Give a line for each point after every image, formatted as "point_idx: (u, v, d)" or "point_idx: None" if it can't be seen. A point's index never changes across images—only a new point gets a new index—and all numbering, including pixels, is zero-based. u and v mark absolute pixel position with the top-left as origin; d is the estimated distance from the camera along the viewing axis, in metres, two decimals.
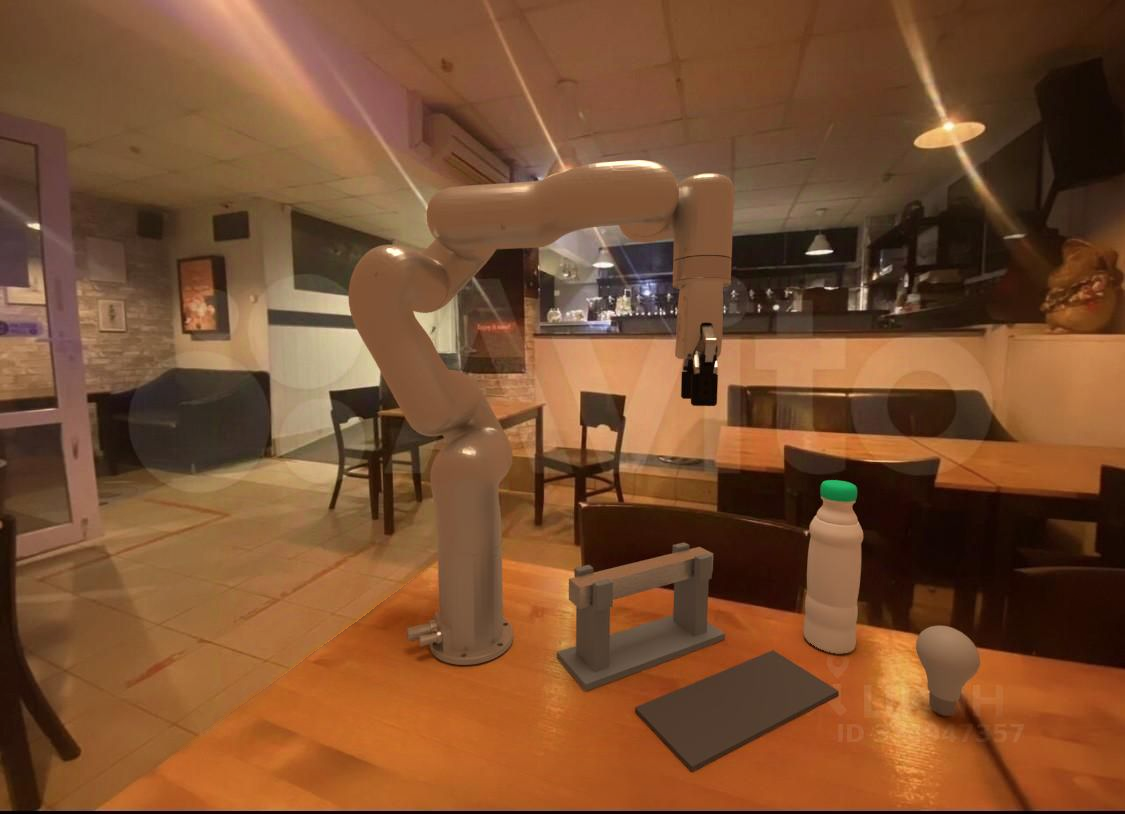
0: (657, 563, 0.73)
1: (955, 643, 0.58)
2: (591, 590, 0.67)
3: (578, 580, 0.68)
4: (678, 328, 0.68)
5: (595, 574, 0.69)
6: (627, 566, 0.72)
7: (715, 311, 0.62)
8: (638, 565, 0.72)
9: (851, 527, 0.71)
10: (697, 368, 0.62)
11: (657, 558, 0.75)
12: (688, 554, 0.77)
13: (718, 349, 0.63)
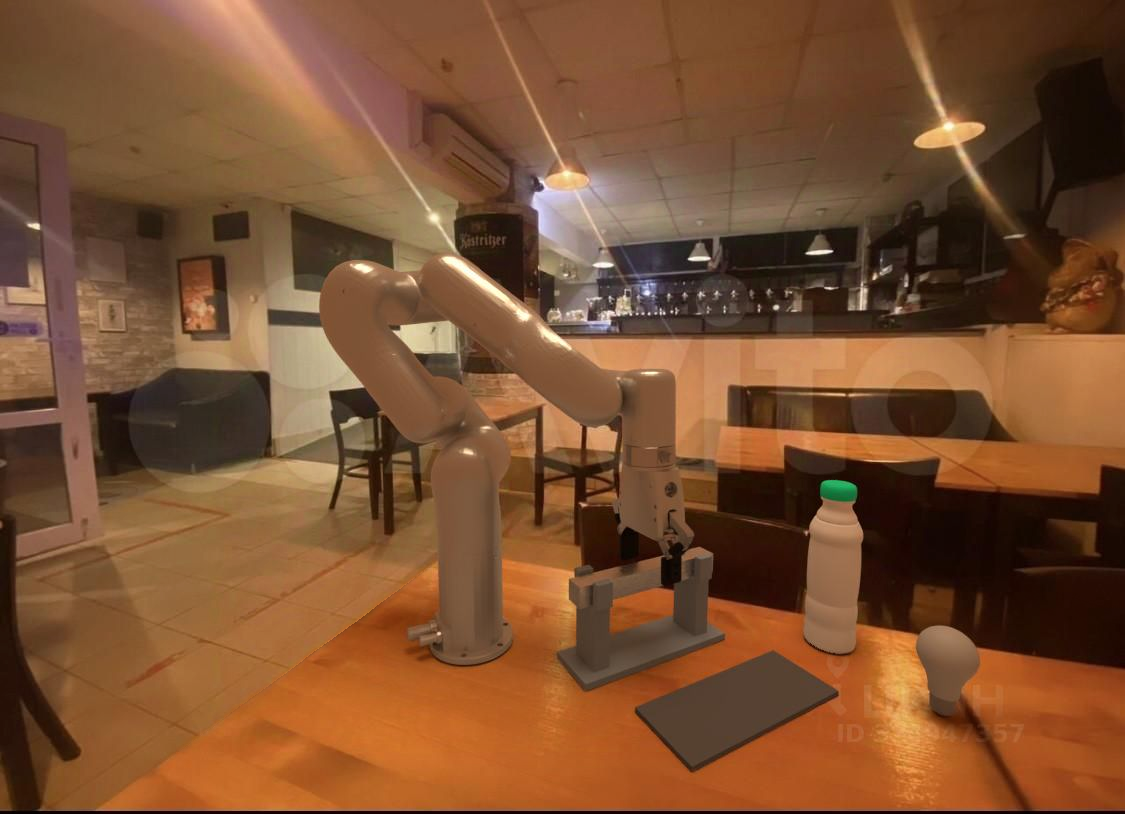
0: (657, 563, 0.73)
1: (954, 643, 0.58)
2: (591, 590, 0.67)
3: (578, 580, 0.68)
4: None
5: (595, 574, 0.69)
6: (627, 566, 0.72)
7: None
8: (638, 565, 0.72)
9: (851, 527, 0.71)
10: None
11: (657, 558, 0.75)
12: (688, 554, 0.77)
13: None
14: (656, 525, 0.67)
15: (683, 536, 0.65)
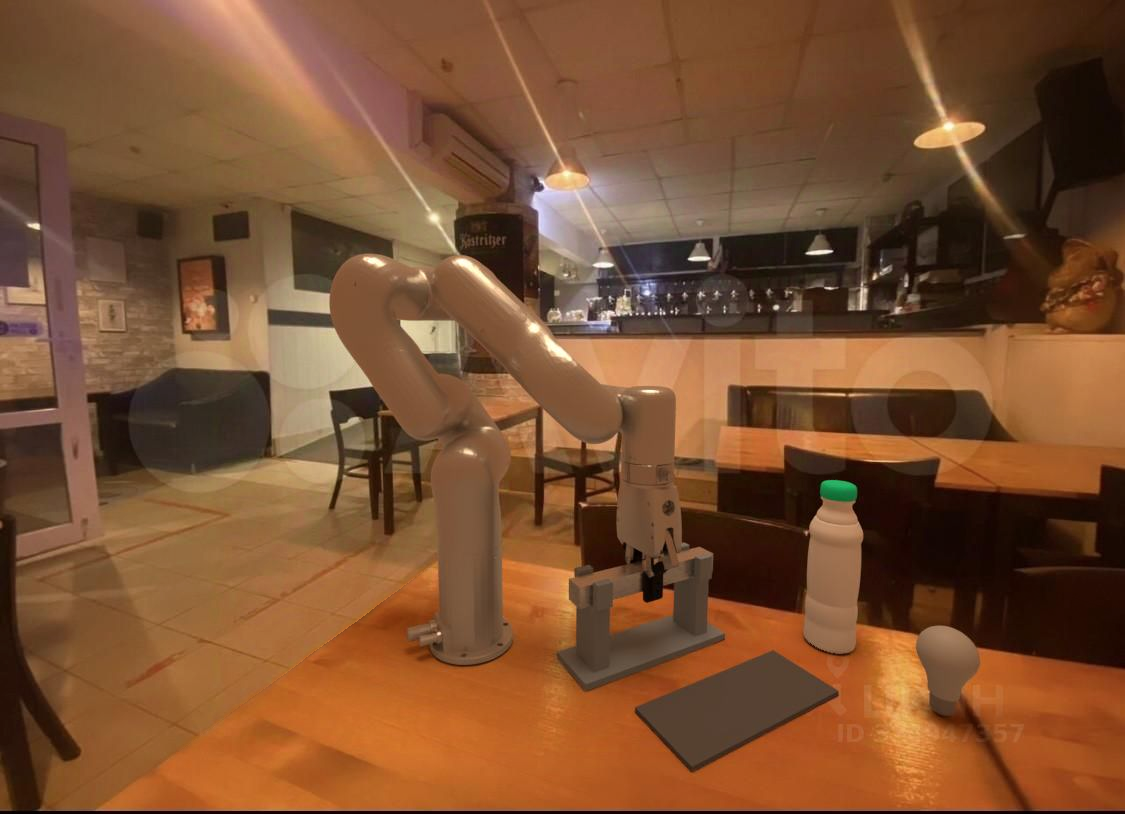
0: None
1: (955, 643, 0.58)
2: (591, 590, 0.67)
3: (578, 580, 0.68)
4: None
5: (595, 574, 0.69)
6: (627, 566, 0.72)
7: None
8: (638, 565, 0.72)
9: (851, 527, 0.71)
10: None
11: (657, 558, 0.75)
12: (688, 554, 0.77)
13: None
14: (653, 543, 0.67)
15: (668, 564, 0.67)
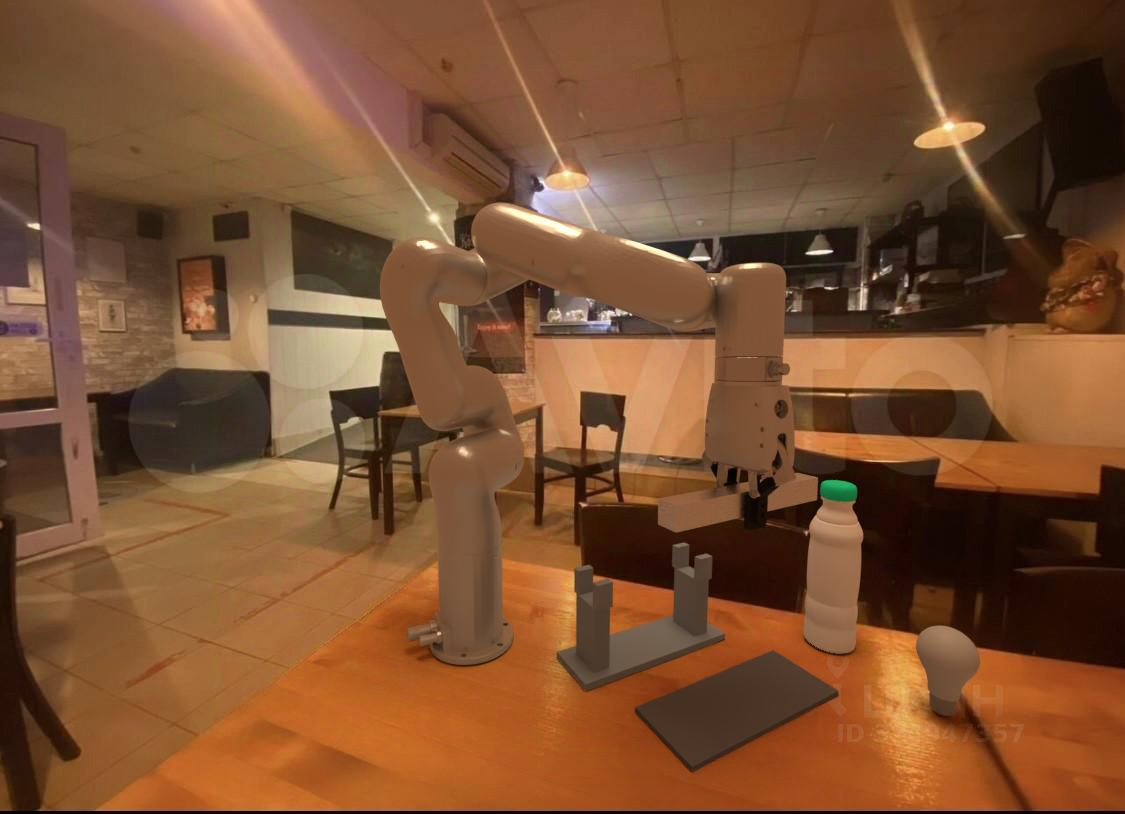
0: None
1: (955, 643, 0.58)
2: (689, 510, 0.54)
3: (671, 499, 0.55)
4: None
5: (688, 494, 0.57)
6: (723, 488, 0.60)
7: None
8: (735, 487, 0.60)
9: (851, 527, 0.71)
10: None
11: None
12: None
13: (705, 449, 0.63)
14: (763, 452, 0.55)
15: (782, 477, 0.54)
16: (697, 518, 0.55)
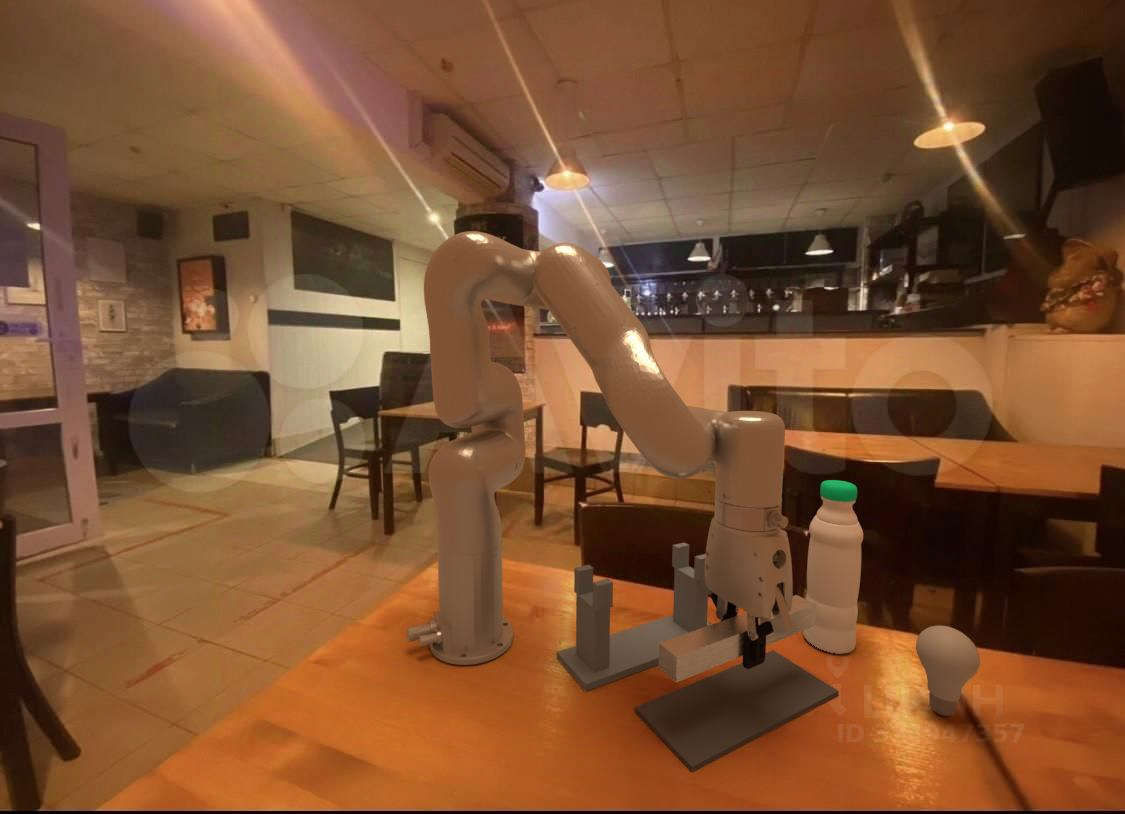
0: None
1: (955, 643, 0.58)
2: (689, 659, 0.55)
3: (671, 645, 0.57)
4: None
5: (688, 636, 0.58)
6: (722, 624, 0.61)
7: None
8: (735, 623, 0.61)
9: (851, 527, 0.71)
10: None
11: None
12: None
13: None
14: (761, 601, 0.56)
15: (780, 627, 0.56)
16: (697, 665, 0.56)
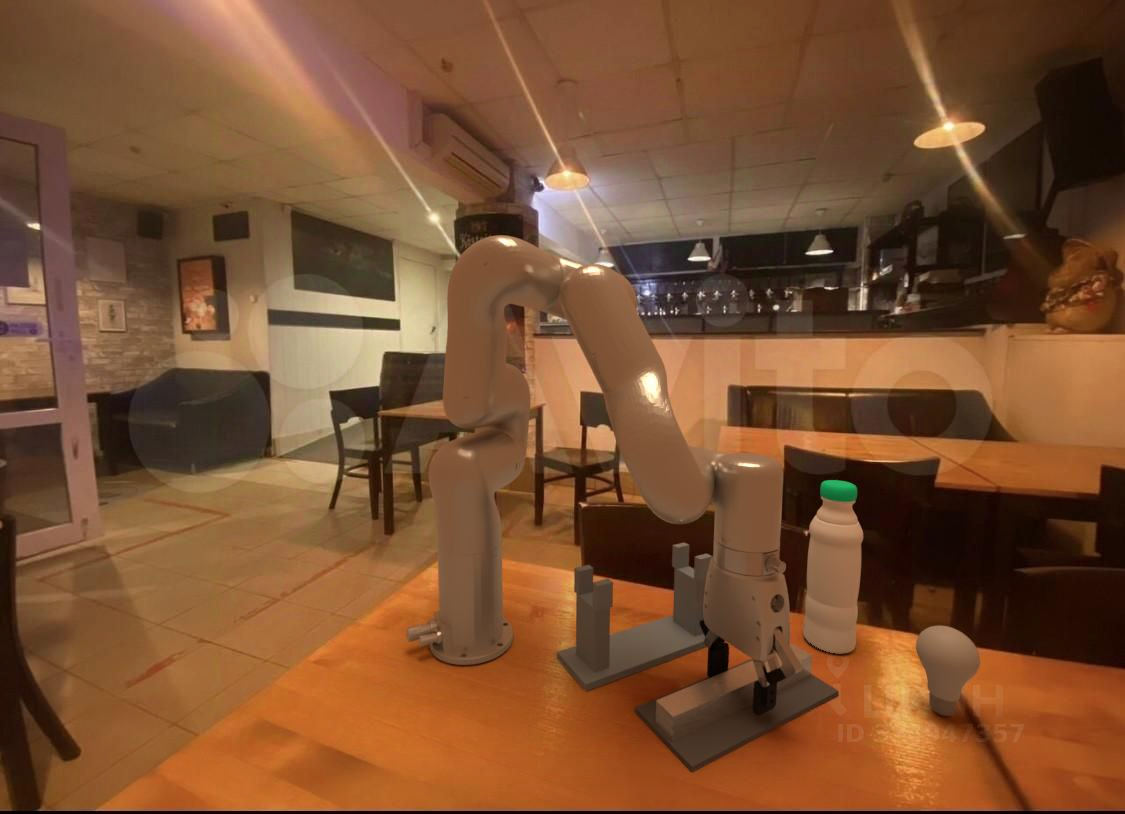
0: (752, 672, 0.63)
1: (955, 643, 0.58)
2: (685, 717, 0.56)
3: (668, 702, 0.57)
4: None
5: (685, 692, 0.59)
6: (719, 678, 0.62)
7: None
8: (731, 677, 0.62)
9: (851, 527, 0.71)
10: None
11: (750, 664, 0.65)
12: None
13: None
14: (759, 645, 0.57)
15: (789, 669, 0.55)
16: (693, 723, 0.57)
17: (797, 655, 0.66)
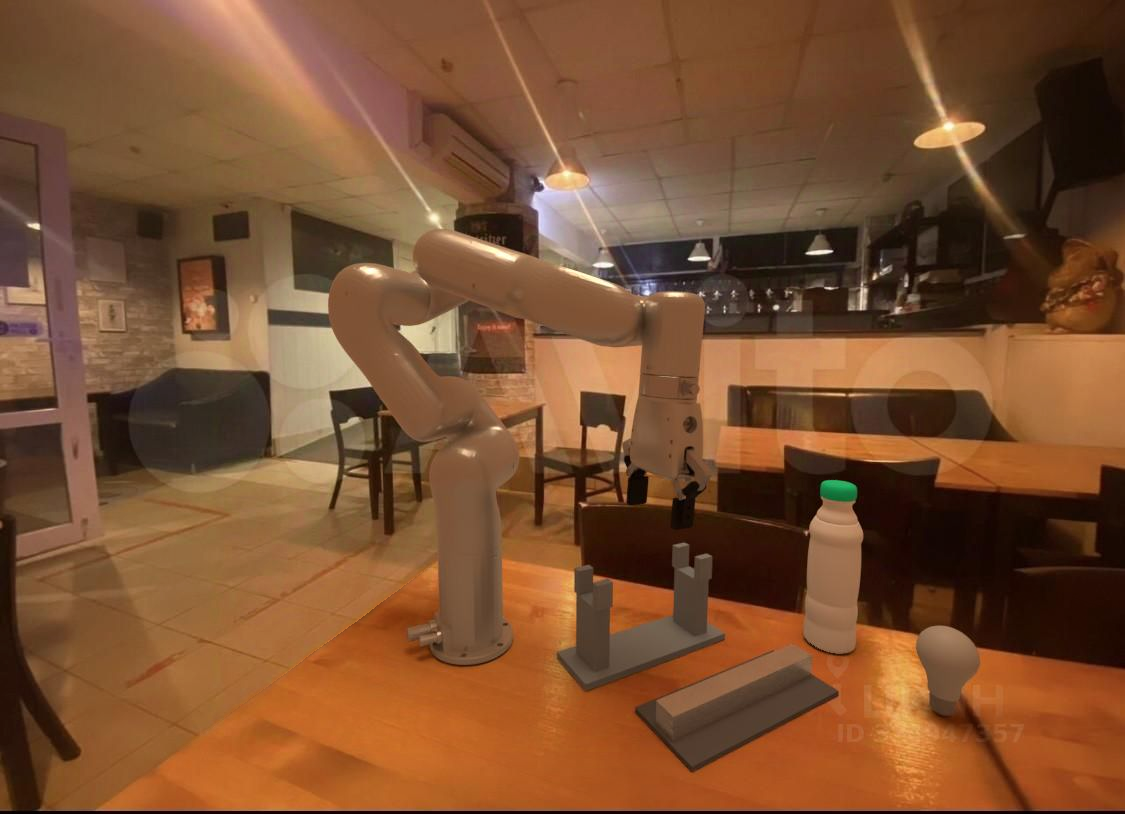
0: (752, 672, 0.63)
1: (955, 643, 0.58)
2: (685, 717, 0.56)
3: (668, 702, 0.57)
4: None
5: (685, 692, 0.59)
6: (719, 678, 0.62)
7: None
8: (731, 677, 0.62)
9: (851, 527, 0.71)
10: None
11: (750, 664, 0.65)
12: (783, 656, 0.66)
13: None
14: (671, 462, 0.61)
15: (700, 474, 0.59)
16: (693, 723, 0.57)
17: (797, 655, 0.66)
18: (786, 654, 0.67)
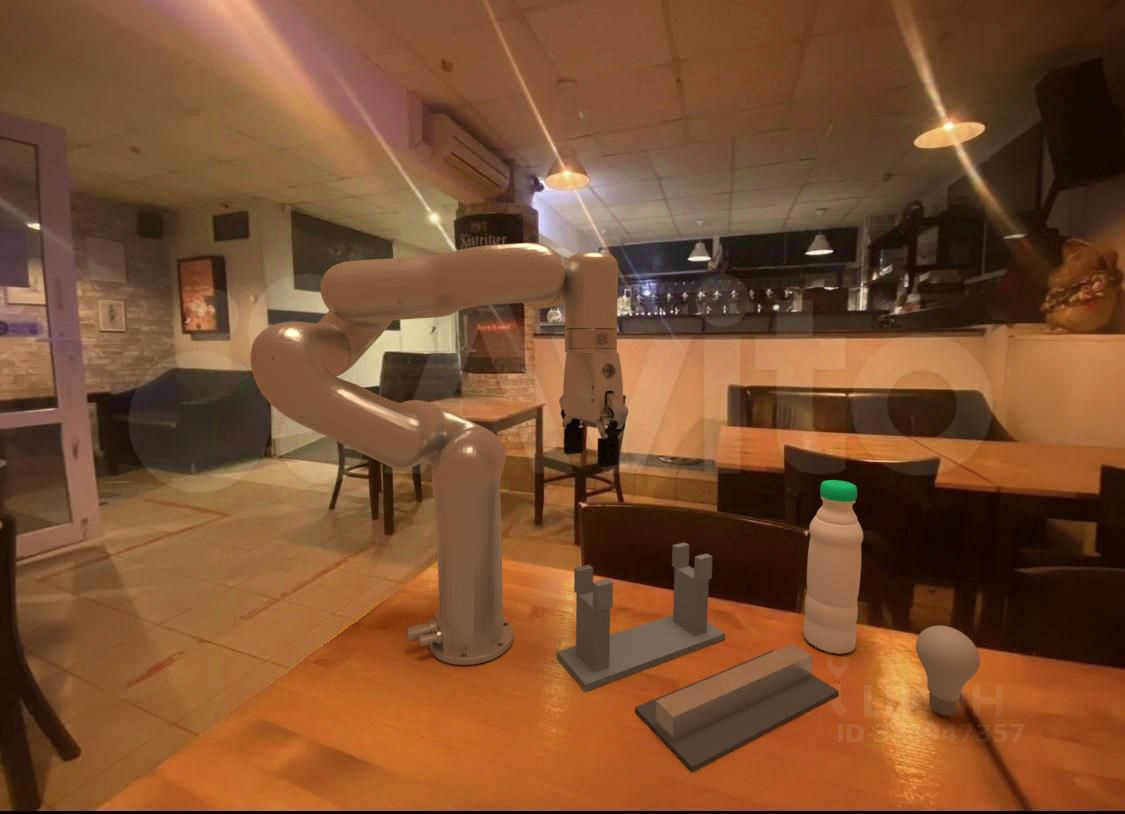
0: (752, 672, 0.63)
1: (955, 643, 0.58)
2: (685, 717, 0.56)
3: (668, 702, 0.57)
4: None
5: (685, 692, 0.59)
6: (719, 678, 0.62)
7: None
8: (731, 677, 0.62)
9: (851, 527, 0.71)
10: None
11: (750, 664, 0.65)
12: (783, 656, 0.66)
13: None
14: (593, 405, 0.68)
15: (617, 412, 0.65)
16: (693, 723, 0.57)
17: (797, 655, 0.66)
18: (786, 654, 0.67)
